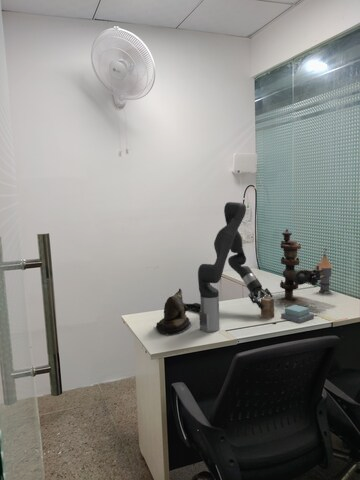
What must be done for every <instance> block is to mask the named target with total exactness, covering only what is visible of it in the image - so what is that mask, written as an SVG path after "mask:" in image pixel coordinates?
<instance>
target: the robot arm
mask: <svg viewBox="0 0 360 480" xmlns="http://www.w3.org/2000/svg"><path fill="white" fill-rule="evenodd" d="M223 209H224V210H223V211H224V212H223V214H224V219H225V223H226V225H225V226H223V227H222V228H221V229H219V231H218V232H217V234H216V236H215V239H214V240H213V241H214V242H213V247H214V250H215V253H216V260H215V262H214V264H211V263H202V264H200V265H199V267H198V269H197V281H198V291H199V294H200V297H199V298H200V304H201V311H199V312H198V314H199V315H198V316H199V330H201V331H204V332H206V333H213V332H218V331H220V327H221V326H220V300H219V299H220V297H219V296H220V295H219V294H220V293H219V290H218V289H217V288H216V287H214V286H213V285H212V284H217V283H219V282H220V281H221V278H222V275H223V273H224V268H225V266H226V261H227V263H228V265H229V267H230V268H231V269H233V271H234V272H236V273H237V274H238V275H239V276H240V278H241V280H242V281H243V283H244V285H245V287H246V288H247V289H248V291H249V293H248V295H247V296H248V297H249V299H250V301H251V302H252V304H256V305H257V306H258V308H259V309H260V310H261V309H263V308H264V306H263V305H262V303H261V298H266V297H268V298H272V297H273V294H272V293H271V291H270V290H269V289H268V288H267V287H266V288H265V289H264V288H263V285H262V283H261V282H260V281H259V280H258V278H257V276H256V275H255V274H254V272H253V271H252V270H251V268H250V267H249V266H248V265H245V264H246V262H247V257H246V254H245V252H244V248H243V238H242V235H241V233H240V231H239V230H238V229H239V228H240V226H241V224H242V222H243V220H244V218H245V216H246V213H247V212H246V211H247V206H246V204H245V203H243V202H237V201H236V202H235V201H233V202H232V201H228V202H226V203H225V204H224V207H223ZM230 252H231V253H233V254H234V255H231V256H229V254H230ZM228 256H229V257H228Z"/></svg>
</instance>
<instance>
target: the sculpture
mask: <svg viewBox="0 0 360 480" xmlns="http://www.w3.org/2000/svg"><path fill="white" fill-rule="evenodd" d="M185 304H186V303H185ZM185 304H184V301H183V291H182V289H181V288H179V289H178V291H177V292H175V294H173V295H172V296H169V297H168V298H167V299H166V301H165V302H164V308H163V317H162V319H161V320H159V321H158V322H156V323H155V324H156V325H155V328H156V330H157V331H159V333H162V334H164V335H166V336H173V335H176V334H183V333H185V332H186V331H187V330H188V329H189V328H190V327H191V326H192V321H190V318H189V317H188V316H187V314H186V313H187V311H188V309H187V306H185Z"/></svg>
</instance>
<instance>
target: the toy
mask: <svg viewBox="0 0 360 480" xmlns="http://www.w3.org/2000/svg"><path fill="white" fill-rule="evenodd" d="M183 303H184V302H183ZM184 304H185V306H187V310H195V311H197V312H198V313H199V311H201V303H198V302H194V303H184Z"/></svg>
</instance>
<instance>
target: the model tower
mask: <svg viewBox="0 0 360 480" xmlns="http://www.w3.org/2000/svg"><path fill="white" fill-rule="evenodd" d="M327 251H328V249H327V248H324V252H327ZM322 255H323V256H322V258H321V260H320V261H319V263H317V264H316V267H315V268H314V270H315V269H317V266H319V269H320V270H321V276H320V277H322V279H321V280H319V283H318V284H319V285H320V286H319V287H320V290H319V293H322V294H324V295H325V294H332V291H331V290H330V285H331V283H330V278H331V276H332V269H333V268H334V267H333V265H332V264H331V262H330V261H329V259H328V257H327V255H326V253H324V254H322Z"/></svg>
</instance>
